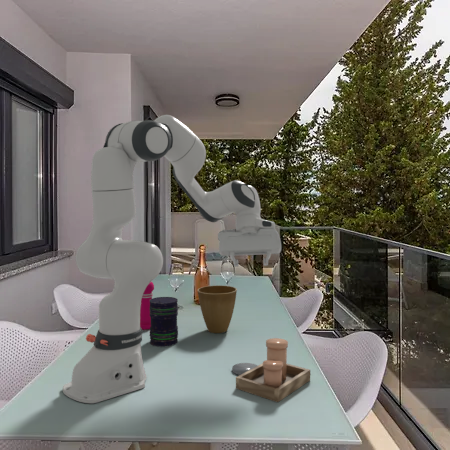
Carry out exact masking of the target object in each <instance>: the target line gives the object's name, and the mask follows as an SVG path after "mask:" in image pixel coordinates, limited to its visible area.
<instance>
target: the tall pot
mask: <svg viewBox="0 0 450 450" xmlns="http://www.w3.org/2000/svg"><path fill="white" fill-rule="evenodd" d="M288 345H289V341H288V340H287V339H283V338H276V337H273V338H268V339H266V340H265V346H266V360H271V359H273V360H279V361H281V362H283V369H282V380H285V379H286V368H287V364H288V363H287V361H288V359H287V357H288V356H287V351H288V350H287V349H288V347H289V346H288Z"/></svg>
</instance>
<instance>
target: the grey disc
mask: <svg viewBox="0 0 450 450" xmlns="http://www.w3.org/2000/svg"><path fill="white" fill-rule="evenodd" d="M257 366H258V364H255V363H250V362H240V363H236V364H234V365H232V367H231V368H232V369H231V371H232V373H233V374H235V375H236V376H237V375H238V376H239V375H241V374H243V373H245V372H247V371H249V370H251V369H253V368H255V367H257Z"/></svg>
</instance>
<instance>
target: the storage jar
mask: <svg viewBox="0 0 450 450" xmlns="http://www.w3.org/2000/svg"><path fill="white" fill-rule="evenodd" d="M178 303H179V302H178V298H177V297H173V296H158V297H152V299H150V317H151V327H150V329H149V339H150V340H149V344H150V345H151V346H153V347H158V348H159V347H161V348H162V347H172V346H175V345H177V344H178V343H179V341H178V340H179V339H178V337H179V327H178V315H179V311H178V310H179V306H178V305H179V304H178Z"/></svg>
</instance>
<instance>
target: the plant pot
mask: <svg viewBox="0 0 450 450" xmlns="http://www.w3.org/2000/svg"><path fill="white" fill-rule="evenodd" d="M237 291H238V289H237V288H236V287H234V286H230V285H222V284H221V285H218V284H217V285H207V286H206V285H205V286H202V287H200V288H198V289H197V295H198V302H199V306H200V311H201V315H202V318H203V320H204V323H205V326H206V329H207V331H208V332H209V333H212V334H223V333H226V332H228V329H229V328H230V327H229V326H230V324H231V322H232V317H233V313H234V309H235V307H236V306H235V304H236V299H237V298H236V297H237Z"/></svg>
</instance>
